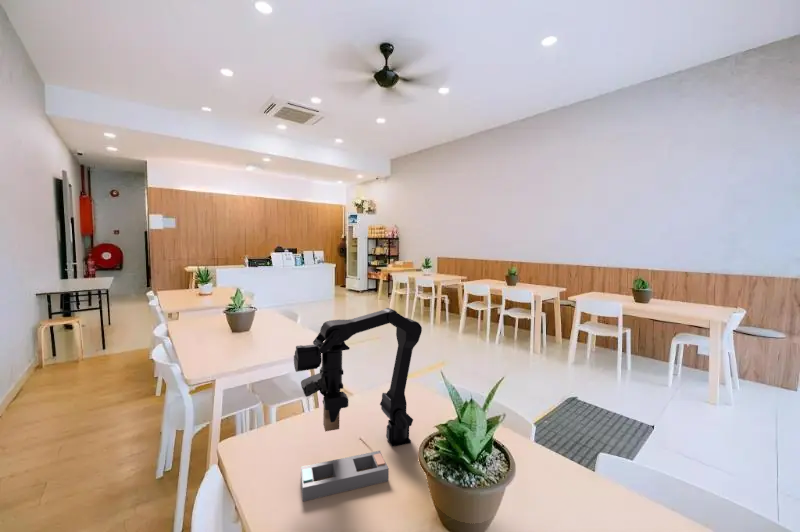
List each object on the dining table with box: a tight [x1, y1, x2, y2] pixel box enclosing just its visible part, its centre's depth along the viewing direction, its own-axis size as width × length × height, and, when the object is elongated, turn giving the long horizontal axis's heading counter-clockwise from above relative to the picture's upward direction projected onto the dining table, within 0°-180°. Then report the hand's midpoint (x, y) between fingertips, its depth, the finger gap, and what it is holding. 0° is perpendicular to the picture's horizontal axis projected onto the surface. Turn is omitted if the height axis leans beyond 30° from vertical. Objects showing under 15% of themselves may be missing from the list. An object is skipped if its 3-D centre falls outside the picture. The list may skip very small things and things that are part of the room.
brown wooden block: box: [322, 407, 340, 432], centre depth 96 cm, size 4×4×8 cm
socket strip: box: [300, 450, 390, 502], centre depth 88 cm, size 22×8×4 cm, turn 110°
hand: (331, 418), depth 96 cm, fingers closed on brown wooden block, 4 cm apart
